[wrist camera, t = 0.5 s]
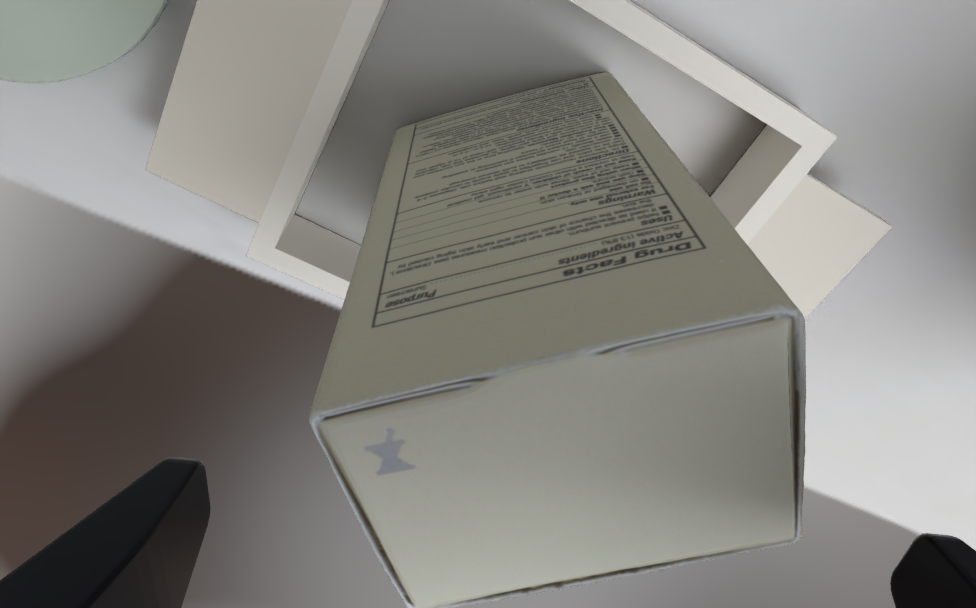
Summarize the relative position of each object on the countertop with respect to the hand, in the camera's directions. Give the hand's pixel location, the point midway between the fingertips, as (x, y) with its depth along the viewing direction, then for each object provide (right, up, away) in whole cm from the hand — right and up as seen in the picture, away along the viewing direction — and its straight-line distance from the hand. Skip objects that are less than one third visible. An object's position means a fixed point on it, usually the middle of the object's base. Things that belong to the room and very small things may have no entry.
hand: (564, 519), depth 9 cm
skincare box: (0, +7, +11) cm, 13 cm away
